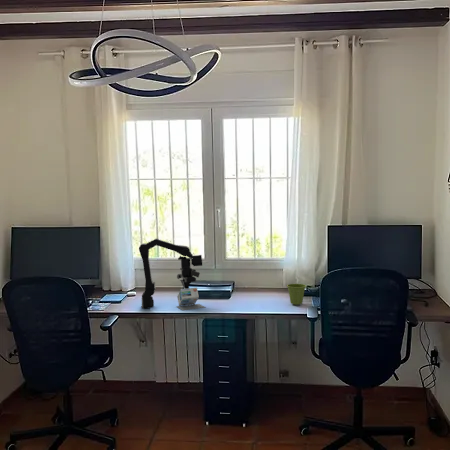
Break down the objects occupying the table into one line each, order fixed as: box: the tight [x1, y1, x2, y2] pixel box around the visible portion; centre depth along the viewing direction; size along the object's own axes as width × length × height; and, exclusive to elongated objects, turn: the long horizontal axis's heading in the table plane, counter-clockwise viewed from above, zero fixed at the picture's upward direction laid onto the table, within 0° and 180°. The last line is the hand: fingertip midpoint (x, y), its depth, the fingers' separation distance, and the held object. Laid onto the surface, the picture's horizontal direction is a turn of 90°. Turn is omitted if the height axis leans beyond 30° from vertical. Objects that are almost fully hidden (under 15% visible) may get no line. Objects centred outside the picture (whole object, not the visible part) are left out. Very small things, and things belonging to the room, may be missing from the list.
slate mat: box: [175, 303, 206, 311], centre depth 317 cm, size 15×11×1 cm
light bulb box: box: [176, 287, 199, 306], centre depth 320 cm, size 11×7×11 cm
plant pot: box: [286, 283, 307, 305], centre depth 320 cm, size 12×12×11 cm
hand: (186, 291), depth 322 cm, fingers closed
